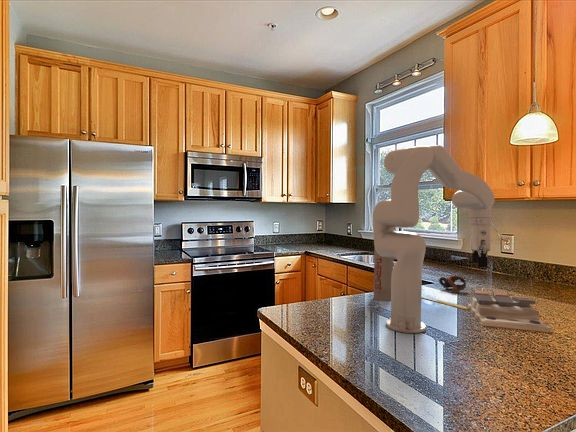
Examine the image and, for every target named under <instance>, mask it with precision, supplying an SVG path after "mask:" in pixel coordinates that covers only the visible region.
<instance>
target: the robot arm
mask: <svg viewBox="0 0 576 432" xmlns="http://www.w3.org/2000/svg"><path fill="white" fill-rule="evenodd" d="M383 165H384V168H385V170H386V171H387V172H388V173H389V174H391V175H393V178H392V180H391V183H390V199H384V200H380V201H379V202H377V203H376V205H375V206H374V208H373V210H372V211H373V212H372V230H373V245H374V248H375V249H376V252H377V253H378V254H379V255H380V256H382V257H386V258H392V259H393V260H397V261H396V263H395V264H394V265H393V270H392V276H391V300H390V318H388V319H386V320H385V325H386V327H387V328H388V329H391V330H393V331H395V332H399V333H404V334H419V333H420V334H421V333H423V332H425V331H426V330H427V325H426V324H425V323H424V322H422V298H421V296H422V290H423V289H422V287H423V286H422V282H423V281H422V279H423V278H422V277H423V265H424V260H425V259H424V258H425V255H426V248H427V244H426V241H425V239H424V237H422V236H421V234H417V233H415V232H411V231H396V230H395V228H396V229H412V228H414V227H416V226H417V225H418V224H419V220H420V204H419V183H420V180H421V178H422V177H423V175H424V174H425V172H426V171H429V173H430V174H432V176H433V177H434V178H435V179H436V181H438V183H439V184H440V185H441V186H443V187H444V188H448V189H451V190H455V191H456V192H455V193H454V194H453V196H452V199H451V202H452V204H453V206H454V207H455V208H457V209H458V210H469V222H468V223H469V224H468V225H469V226H471V236H470V237H471V240H470V241H471V242H470V243H471V250H472V251H471V263H472V264H477V267H478V268H488V252H490V251H491V230H490V227H491V226H492V207H493V206H494V204H495V203H496V202H495V200H496V199H495V198H496V197H495V193H494V191H493V190H492V188H491V187H490V186H489V184H488V183H487V182H486V181H485V180H484V179H482V178H481V177H479V176H477V175H475V174H473V173H471V172H468V171H466V170H463V169H462V168H461V167H460V166H459V164H458V163H457V162H456V160H455V159H454V158H453V157H452V155H451V154H450V153H449V152H448V150H447V149H446V148H445V147H444V146H443V145H440V144H433V145H416V146H411V147H404V148H401V149H400V148H399V149H393V150H391V151H389V152H387V154H386V155H385V157H384V159H383Z"/></svg>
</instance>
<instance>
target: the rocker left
mask: <svg viewBox="0 0 576 432" xmlns="http://www.w3.org/2000/svg"><path fill="white" fill-rule="evenodd" d="M473 296H474V297H476V299H477V301H478V303H482V304H493V302H494V301H493V300H492V299H493V298H492V296H491V295H490V293H489V291H486V290H476V289H475V290H473Z"/></svg>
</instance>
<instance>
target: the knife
mask: <svg viewBox="0 0 576 432" xmlns="http://www.w3.org/2000/svg"><path fill="white" fill-rule="evenodd" d="M421 299H425V300H430V301H433V302H435V303H440V304H443V305H446V306H451V307H453V308H457V309H458V308H459V309H462V310H466V311H467V310H469V308H468V306H465V305H459V304H455V303H452V302H449V301H444V300H441V299H433V298H429V297H427V296H426V297H425V296H422V295H421ZM469 311H470V310H469Z"/></svg>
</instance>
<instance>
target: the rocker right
mask: <svg viewBox="0 0 576 432" xmlns="http://www.w3.org/2000/svg"><path fill="white" fill-rule="evenodd" d="M511 299H512V300H513V301H515V302H518V303H525V304H530V305H536V300H534V299H531V298H529V297H527V296H514V295H513V296H512V297H511Z"/></svg>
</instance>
